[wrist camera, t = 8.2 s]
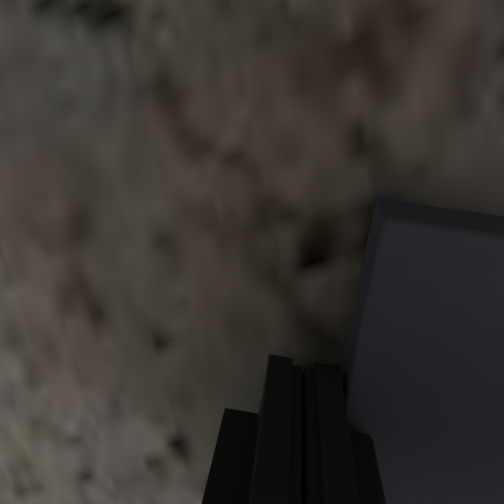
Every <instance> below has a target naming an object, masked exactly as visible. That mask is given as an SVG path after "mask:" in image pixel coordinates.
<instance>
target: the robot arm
mask: <svg viewBox="0 0 504 504" xmlns="http://www.w3.org/2000/svg"><path fill="white" fill-rule="evenodd" d="M202 504H386V501H385V496H384V491H383V487H382V482H381V477H380V472H379V467H378V463H377V458H376V453H375V448H374V443H373V440H372V437H371V436H370V434H365V433H359V432H354V431H349V425H348V418H347V412H346V405H345V398H344V391H343V384H342V377H341V370H340V367H337V366H331V365H325V364H320V363H314V366H313V369H310V368H304V370H303V375H302V367H301V366H295V365H293V358H288V357H282V356H276V355H270V354H269V359H268V364H267V370H266V376H265V381H264V387H263V393H262V399H261V405H260V410H259V414H257V413H251V412H246V411H240V410H235V409H229V408H225V410H224V414H223V418H222V422H221V426H220V431H219V435H218V439H217V443H216V447H215V451H214V455H213V459H212V464H211V468H210V472H209V476H208V480H207V484H206V488H205V492H204V496H203V501H202Z"/></svg>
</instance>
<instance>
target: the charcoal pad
mask: <svg viewBox="0 0 504 504" xmlns="http://www.w3.org/2000/svg"><path fill="white" fill-rule="evenodd" d="M340 370H341V377H342V384H343V391H344V398H345V405H346V412H347V418H348V425H349V431H354V432H359V433H365V434H370V436H371V437H372V440H373V443H374V448H375V453H376V458H377V463H378V467H379V472H380V477H381V482H382V487H383V491H384V496H385V501H386V504H504V217H501V216H494V215H487V214H480V213H473V212H466V211H459V210H452V209H445V208H438V207H431V206H424V205H417V204H410V203H404V202H397V201H390V200H383V199H380V200H377V201H376V203H375V206H374V211H373V216H372V221H371V225H370V230H369V235H368V240H367V245H366V249H365V254H364V259H363V264H362V269H361V273H360V278H359V283H358V288H357V292H356V297H355V302H354V307H353V312H352V316H351V321H350V326H349V331H348V336H347V340H346V345H345V350H344V355H343V360H342V364H341V369H340Z"/></svg>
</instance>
